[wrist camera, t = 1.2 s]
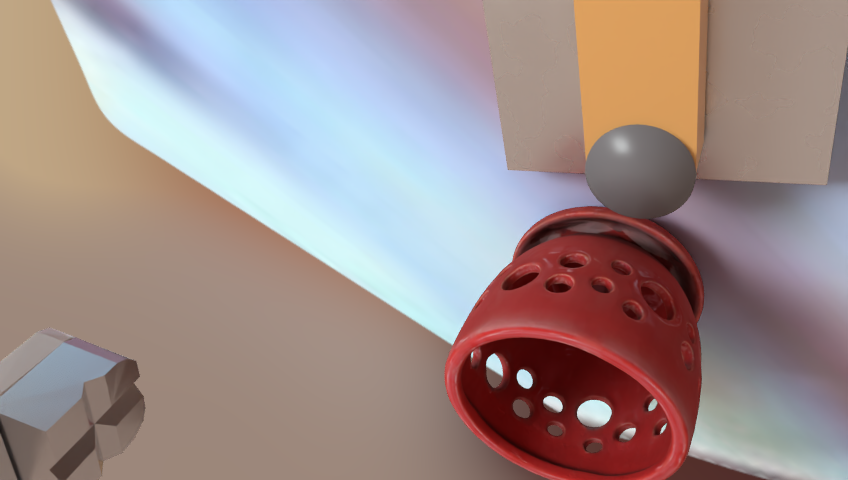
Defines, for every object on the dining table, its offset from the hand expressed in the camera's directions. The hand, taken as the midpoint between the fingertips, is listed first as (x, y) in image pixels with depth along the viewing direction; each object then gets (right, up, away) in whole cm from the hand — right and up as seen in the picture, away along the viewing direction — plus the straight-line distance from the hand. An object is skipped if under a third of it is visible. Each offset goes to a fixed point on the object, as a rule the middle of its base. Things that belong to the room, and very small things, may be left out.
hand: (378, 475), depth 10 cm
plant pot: (+12, +1, +35) cm, 37 cm away
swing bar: (+11, +13, +22) cm, 28 cm away
